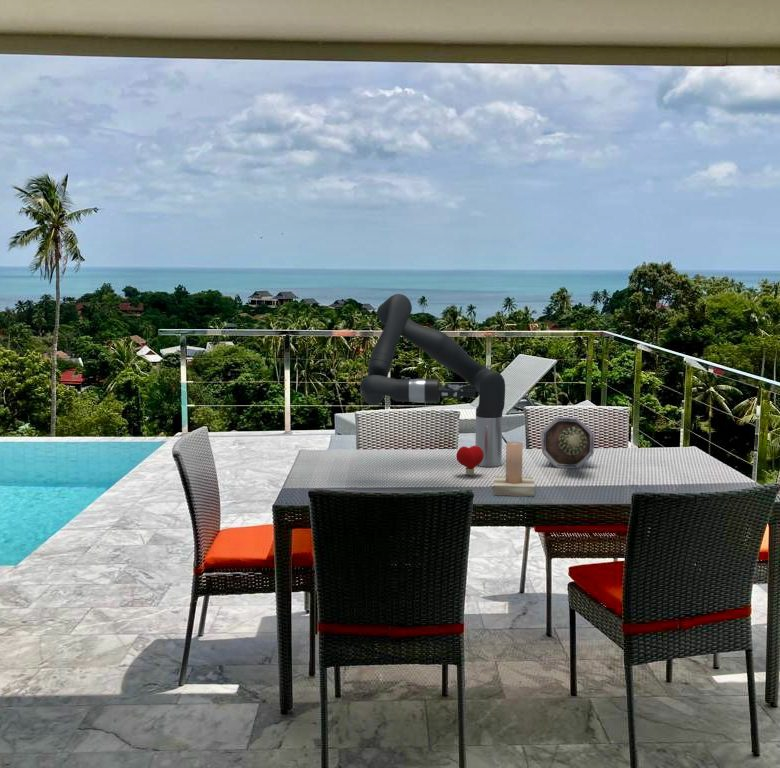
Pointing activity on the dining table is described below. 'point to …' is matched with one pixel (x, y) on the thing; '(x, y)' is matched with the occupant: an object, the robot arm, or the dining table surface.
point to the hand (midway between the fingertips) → (475, 391)
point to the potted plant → (567, 442)
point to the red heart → (470, 458)
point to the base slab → (514, 487)
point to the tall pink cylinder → (514, 462)
